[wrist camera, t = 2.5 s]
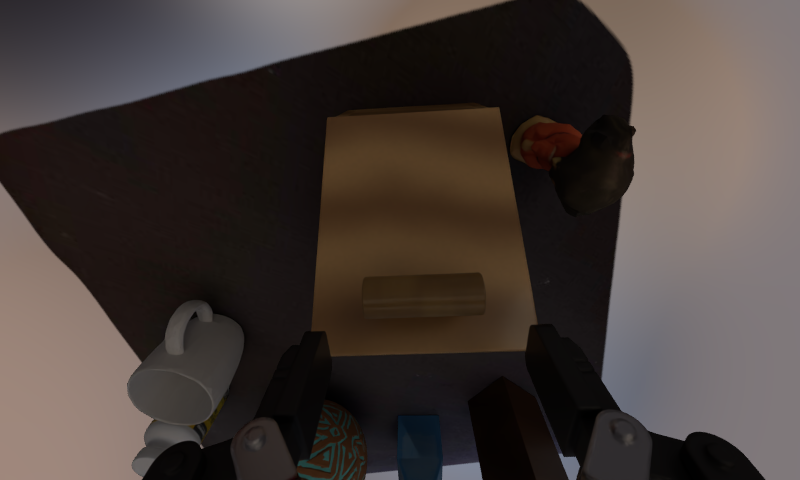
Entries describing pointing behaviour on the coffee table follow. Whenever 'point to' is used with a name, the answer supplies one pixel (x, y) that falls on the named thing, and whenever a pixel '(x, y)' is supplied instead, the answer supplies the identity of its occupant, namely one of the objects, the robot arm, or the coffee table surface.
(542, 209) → the coffee table surface
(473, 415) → the tall pedestal column
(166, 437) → the pill bottle
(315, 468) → the decorative sphere
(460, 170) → the lid
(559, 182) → the figurine
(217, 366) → the mug
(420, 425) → the perfume bottle
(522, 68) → the coffee table surface
